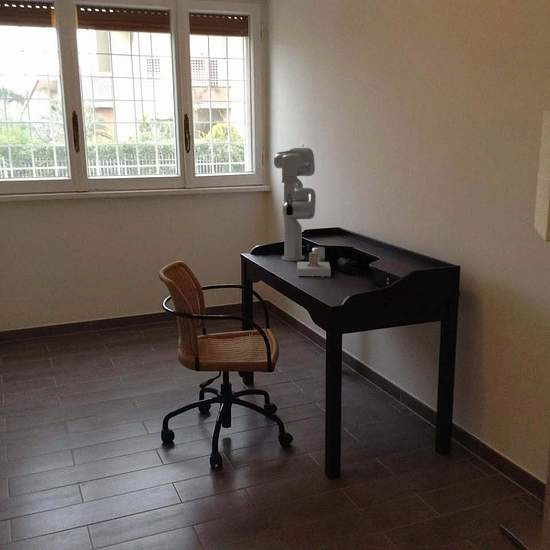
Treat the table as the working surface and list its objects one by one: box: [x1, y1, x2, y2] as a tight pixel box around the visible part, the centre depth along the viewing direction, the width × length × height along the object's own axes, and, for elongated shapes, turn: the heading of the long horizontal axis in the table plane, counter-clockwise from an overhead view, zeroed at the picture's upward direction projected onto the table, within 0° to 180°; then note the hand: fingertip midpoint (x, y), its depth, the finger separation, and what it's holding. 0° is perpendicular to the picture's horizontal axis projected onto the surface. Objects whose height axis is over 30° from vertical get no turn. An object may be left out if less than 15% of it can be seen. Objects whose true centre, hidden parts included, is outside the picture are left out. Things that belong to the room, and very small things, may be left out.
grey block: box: [311, 246, 326, 262], centre depth 328 cm, size 7×7×10 cm
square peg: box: [308, 252, 318, 267], centre depth 315 cm, size 4×4×10 cm
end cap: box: [336, 256, 358, 275], centre depth 317 cm, size 10×7×7 cm
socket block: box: [296, 261, 332, 278], centre depth 315 cm, size 16×16×4 cm
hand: (289, 213), depth 321 cm, fingers open, 9 cm apart
